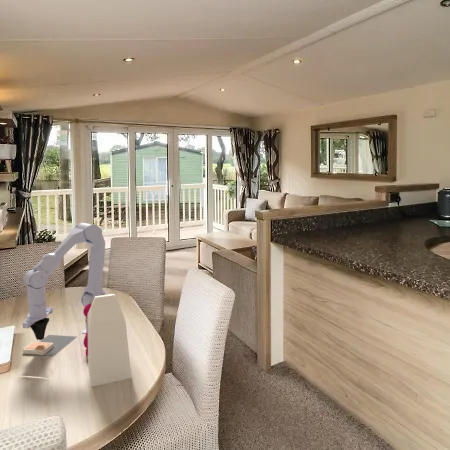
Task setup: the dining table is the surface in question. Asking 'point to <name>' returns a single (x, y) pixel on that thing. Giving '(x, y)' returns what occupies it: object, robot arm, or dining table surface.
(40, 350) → the block
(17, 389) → the dining table surface
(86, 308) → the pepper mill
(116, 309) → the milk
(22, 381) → the dining table surface
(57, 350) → the mat
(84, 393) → the dining table surface
